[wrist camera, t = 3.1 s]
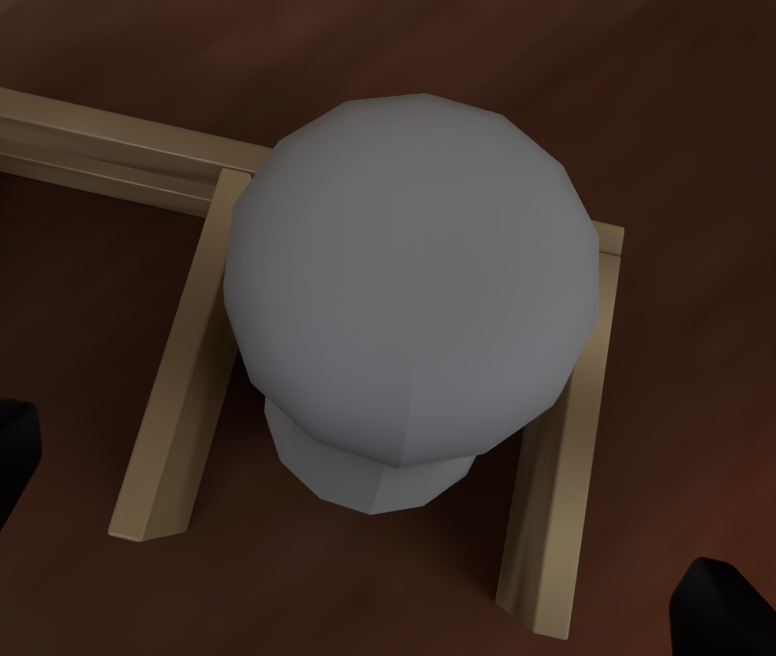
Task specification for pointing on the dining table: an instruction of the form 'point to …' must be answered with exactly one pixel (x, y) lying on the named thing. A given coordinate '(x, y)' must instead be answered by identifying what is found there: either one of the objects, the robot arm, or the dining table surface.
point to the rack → (219, 346)
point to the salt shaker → (407, 293)
